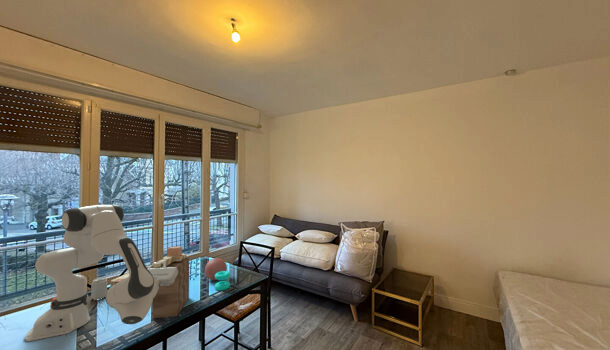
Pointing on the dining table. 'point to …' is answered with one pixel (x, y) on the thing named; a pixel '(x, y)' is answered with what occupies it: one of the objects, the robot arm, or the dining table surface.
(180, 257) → the pallet
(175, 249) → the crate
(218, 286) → the donuts
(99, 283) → the light grey block
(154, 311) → the paper bag
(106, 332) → the dining table surface
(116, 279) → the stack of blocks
